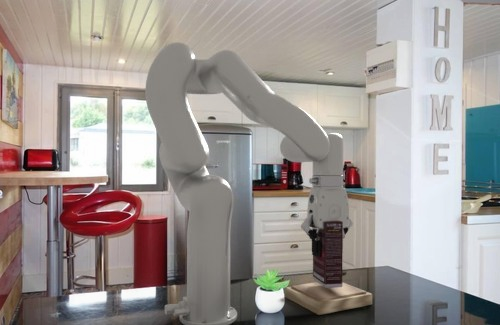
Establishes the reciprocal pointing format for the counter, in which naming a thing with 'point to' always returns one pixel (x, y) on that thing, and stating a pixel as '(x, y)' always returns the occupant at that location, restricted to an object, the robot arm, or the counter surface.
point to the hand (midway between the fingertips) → (327, 254)
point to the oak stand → (328, 297)
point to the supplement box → (330, 256)
